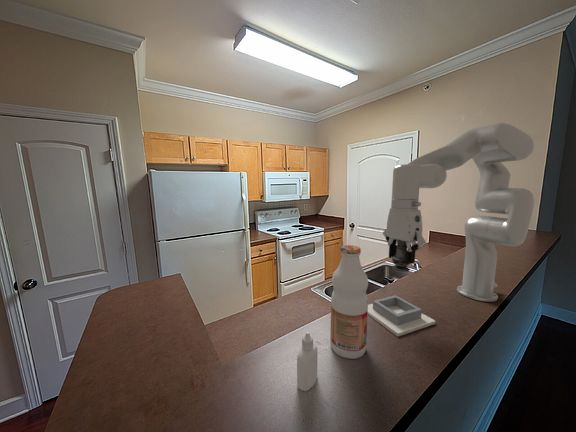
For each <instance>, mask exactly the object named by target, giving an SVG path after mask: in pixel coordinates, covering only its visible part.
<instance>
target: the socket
mask: <svg viewBox="0 0 576 432" xmlns="http://www.w3.org/2000/svg"><path fill="white" fill-rule="evenodd" d="M367 316H369V317H371V318H372V319H373V320H375V321H376V322H377V323H378V324H380V325H382V326H383V327H384V328H386V329H387V330H388V331H389V332H391V333H392V334H393V335H395V337H401V336H405V335H407V334H410V333H413V332H415V331H418V330H422V329H424V328H427V327H430V326H433V325H436V320H435V319H433V318H431V317H430V316H428V315H426V314H424V313H423V311H422V308H420V307H418V306H417V305H414V304H413V303H411V302H409V301H407V300H405V299H403V298H401V297H400V296H398V295H396V294H395V295H391V296H387V297H383V298H379V299H378V298H377V299H375V300H373V301H372V303H370V304H369V303H368V313H367Z"/></svg>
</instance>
